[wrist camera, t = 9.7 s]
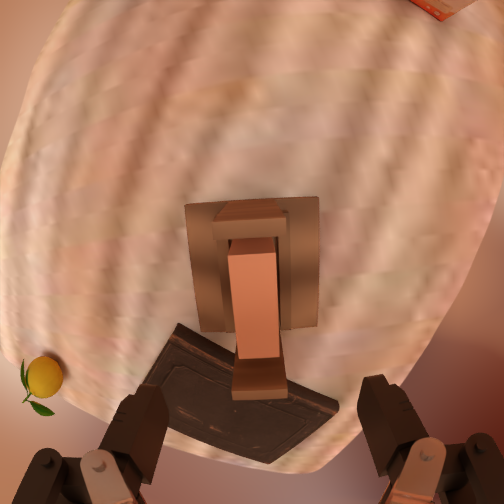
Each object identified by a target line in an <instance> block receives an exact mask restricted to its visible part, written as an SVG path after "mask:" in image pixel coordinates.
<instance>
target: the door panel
mask: <svg viewBox="0 0 504 504" xmlns="http://www.w3.org/2000/svg"><path fill="white" fill-rule="evenodd" d="M228 265H229V275H230V285H231V294H232V304H233V313H234V322H235V331H236V339H237V348H238V356H239V359H252V358H271V357H280V356H279V322H278V294H277V270H276V252H275V248H274V243H273V239H272V237H261V238H243V239H233V240H232V244H231V247H230V250H229V253H228Z"/></svg>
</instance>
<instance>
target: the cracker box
mask: <svg viewBox="0 0 504 504" xmlns="http://www.w3.org/2000/svg"><path fill="white" fill-rule="evenodd" d="M410 1H412V2H413V3H415V4H417V5H418V6H420V7H421V8H423V9H424V10H426V11H427V12H429V13H430V14H431V15H433V16H434V17H436V18H437V19H438V20H440V21H443V20H445V19H446V18H448V17H450V16H452V15H453V14H455V13H457V12H458V11H460V10H461V9H463V8H465V7H466V6H468V5H470V4H472V3H473V2H475V1H477V0H410Z"/></svg>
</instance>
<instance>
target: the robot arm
mask: <svg viewBox="0 0 504 504" xmlns="http://www.w3.org/2000/svg"><path fill="white" fill-rule="evenodd" d="M357 413H358V417H359V420H360V423H361V425H362V428H363V431H364V434H365V437H366V439H367V443H368V446H369V448H370V451H371V454H372V457H373V460H374V463H375V466H376V469H377V473H378V476H379V477H382V476H385V475H388V476H389V479H390V481H389V483H388V485H387V487H386V489H385V491H384V493H383V495H382V497H381V499H380V501H379V503H378V504H435V503H434V502H433V501H432V500H433V496H434V493H437V492H438V494H439V497H440V500H441V503H442V504H504V458H503V456H502V454H501V452H500V451H499V449H498V447H497V445H496V443H495V441H494V440H493V438H492V437H491V436H489V435H487V434H485V433H476V434H473V435H471V436H470V437H469V438H468V440H467V441H466V442H465V443H460V444H451V445H444V444H443V443H442V442H441V441H439V440H437V439H435V438H430V437H429V435H428V433H427V432H426V430H425V428H424V426H423V424H422V422H421V420H420V418H419V417H418V415H417V413H416V411H415V410H414V409H413V406H412V404H411V402H409V399H408V397H407V395H406V393H405V392H404V391H403V390H402V389H401V388H400V387H399V386H397V385H396V384H392V385H389V383H388V382H387V380H386V378H385V376H384V375H383V374H380V375H374V376H369V377H364V379H363V382H362V386H361V390H360V394H359V398H358V403H357ZM168 424H169V410H168V407H167V404H166V401H165V399H164V396H163V393H162V390H161V387H160V386H159V385H150V384H140V385H139V387H138V389H137V391H136V393H135V395H130V394H129V395H128V396H127V397H126V398H125V399H124V400H123V401H121V403H120V405H119V407H118V409H117V411H116V413H115V415H114V417H113V421H111V423H110V425H109V427H108V429H107V431H106V433H105V435H104V438H103V440H102V442H101V444H100V446H99V448H98V449H96V450H92V451H89V452H87V453H86V454H85V455H84V456H83V457H82V458H71V457H62V456H61V455H60V454H59V452H57V451H56V450H54V449H51V448H44V449H41V450H39V451H38V452H37V453H36V454H35V455H34V457H33V459H32V461H31V463H30V465H29V467H28V469H27V471H26V473H25V476H24V477H23V479H22V481H21V484H20V486H19V488H18V490H17V493H16V495H15V497H14V499H13V502H12V504H147V503H146V501H145V499H144V497H143V495H142V494H141V492H140V490H139V489H140V486H141V483H144V484H149V485H151V483H152V479H153V475H154V471H155V468H156V464H157V461H158V458H159V454H160V451H161V447H162V444H163V441H164V437H165V434H166V431H167V427H168Z"/></svg>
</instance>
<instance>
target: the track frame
mask: <svg viewBox="0 0 504 504" xmlns="http://www.w3.org/2000/svg"><path fill="white" fill-rule="evenodd" d="M184 206H185V216H186V226H187V235H188V244H189V252H190V260H191V268H192V275H193V283H194V290H195V297H196V303H197V310H198V316H199V323H200V329H201V332H226V333H232V332H236V331H235V322H234V313H233V304H232V294H231V285H230V275H229V265H228V253H229V250H230V247H231V244H232V240H233V239H243V238H261V237H272V239H273V243H274V248H275V252H276V270H277V294H278V322H279V356H280V357H271V358H252V359H239V356H238V348H237V343H236V352H235V361H234V371H233V380H232V390H231V392H232V399H233V400H264V399H281V398H287V396H288V388H287V380H286V372H285V365H284V357H283V350H282V343H281V335H280V329H281V330H291V328H305V327H316V326H317V322H318V298H319V197H288V198H266V199H248V200H233V201H218V202H205V203H193V204H186V205H184Z"/></svg>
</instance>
